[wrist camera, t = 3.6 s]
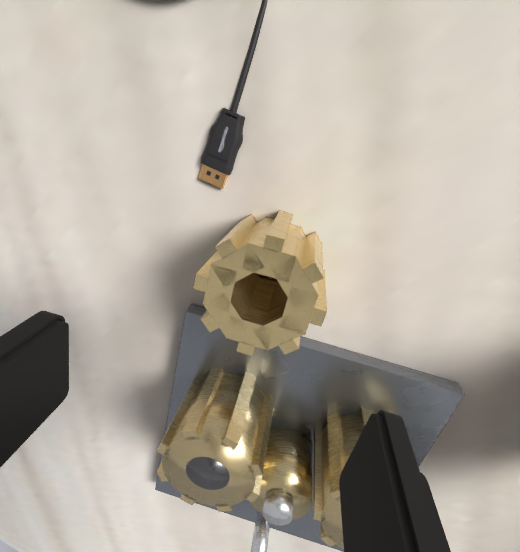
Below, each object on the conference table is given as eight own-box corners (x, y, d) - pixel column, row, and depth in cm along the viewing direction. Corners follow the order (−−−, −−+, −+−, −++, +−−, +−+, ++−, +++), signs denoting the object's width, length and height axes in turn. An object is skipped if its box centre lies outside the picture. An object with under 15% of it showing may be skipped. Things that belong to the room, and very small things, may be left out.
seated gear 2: (417, 417, 24) (447, 500, 18) (396, 483, 27) (417, 573, 21) (320, 401, 25) (321, 476, 19) (309, 467, 27) (307, 549, 22)
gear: (339, 226, 21) (346, 256, 15) (307, 318, 24) (304, 371, 18) (234, 197, 21) (205, 217, 16) (215, 291, 24) (184, 335, 19)
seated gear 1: (260, 361, 24) (243, 426, 19) (284, 433, 26) (275, 510, 21) (176, 374, 26) (137, 436, 20) (205, 440, 28) (177, 513, 23)
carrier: (457, 382, 24) (504, 461, 18) (359, 542, 32) (368, 634, 26) (191, 303, 25) (152, 353, 19) (160, 478, 33) (126, 551, 27)
